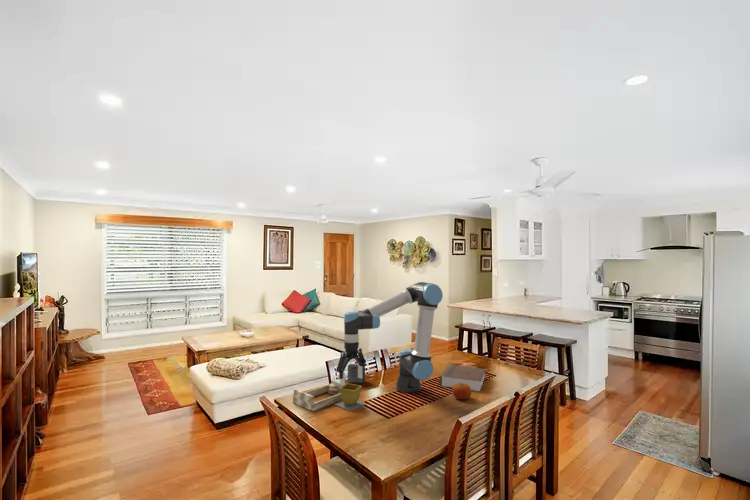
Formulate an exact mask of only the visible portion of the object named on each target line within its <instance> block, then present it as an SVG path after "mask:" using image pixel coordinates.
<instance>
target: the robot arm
mask: <svg viewBox="0 0 750 500" xmlns="http://www.w3.org/2000/svg"><path fill="white" fill-rule="evenodd" d="M443 295H444V294H443V291H442V288H441V287H440V286H439V285H438V284H435V283H432V282H425V281H420V282H417V283H414V284H412V285H410V286H408V287H405V288H403V290H402V292H399V293H396V294H395V295H392V296H391V297H388V298H387V299H383V300H382V301H380V302H378V303H375V304H373V305H371V306H370V307H367V308H365V309H362V310H357V311H347V312H345V313H344V319H343V326H344V329H343V330H344V352H341V353H340V358H339V360H338V363H337V366H336V368H335V369H336V370H335V372H338V373H339V374H338V375H339V380H340V384H341V385H345V384H346V373H345V370H346V368H347V367H348V365H349V362H350V361H351V360H353V359H355V361H356V362H357V363H356V364H359V365H360V366H358V378H361V379H362V372H363V366H365V367H366V364H367V362H366V359H365V356H364V354H363V350H362V349H363V348H362V347H359V330H360V331H361V330H374V329H375V330H376V329H378V328H380V326H381V317H382V316H384V315H386V314H389V313H390V312H392V311H395V310H398V309H399V308H401V307H403V306H405V305H407V304H413V303H417V305H416V306H417V307H418V308H419V310H418V316H417V317H418V318H417V323H416V324H417V325H416V334H415V340H414V349H402V350H400V351H399V354H398V355H399V356H398V358H399V359H398V360H399V363H398V364H399V366H398V370H399V371H398V378H397V381H396V384H395V389H396V390H398V391H399V392H402V393H408V394H413V393H418V392H420V391H421V390H422V384H421V381H425V380H427V379H429V378H430V377H431V376H432V375H433V373H434V365H433V363H432V354H431V353H430V350H431V349H430V347H431V339H432V334H433V332H432V331H433V324H434V318H435V317H434V316H435V311H436V310H437V309H438V306H439V304H440V302H441V301H442V300H443Z"/></svg>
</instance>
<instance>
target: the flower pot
mask: <svg viewBox="0 0 750 500" xmlns="http://www.w3.org/2000/svg"><path fill="white" fill-rule="evenodd" d="M361 391H362V385H359V384H355V383H347V382H346V383H345V385H344V386H342V387H341V388H340V392H341V399H342V400H341V401H343V403H344V404H346V405H351V406H353V405H354V404H355V403H357V401H359V398H360V396H361Z"/></svg>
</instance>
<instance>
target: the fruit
mask: <svg viewBox="0 0 750 500" xmlns="http://www.w3.org/2000/svg"><path fill="white" fill-rule="evenodd" d="M451 389H452V390H451V392H452V395H453V397H454V398H455V399H458V400H467V399H468V398H470V397H471V395H472V390H471V388H470V387H469V386H468V385H467V384H465V383H457V384H455V385H454V386H453V388H452V387H451Z"/></svg>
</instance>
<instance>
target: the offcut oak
mask: <svg viewBox="0 0 750 500" xmlns="http://www.w3.org/2000/svg"><path fill="white" fill-rule="evenodd" d="M329 384H330V386H329V390H334V391H340V388H341V387H338V386H336V385H334V384H331V383H329Z"/></svg>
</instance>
